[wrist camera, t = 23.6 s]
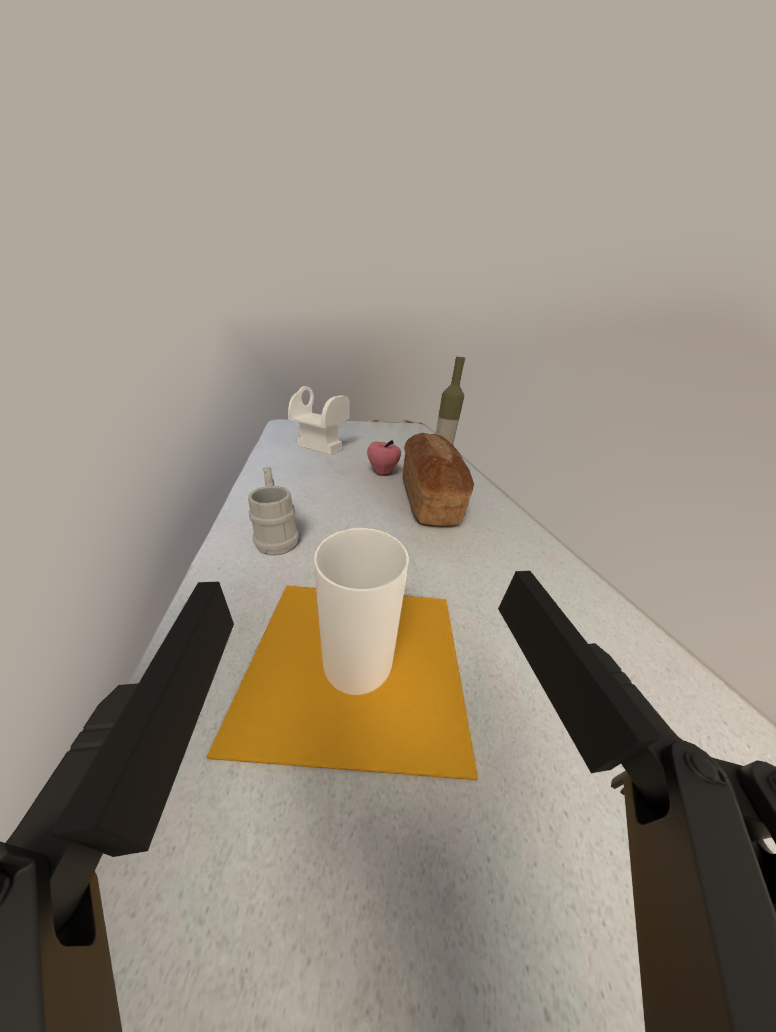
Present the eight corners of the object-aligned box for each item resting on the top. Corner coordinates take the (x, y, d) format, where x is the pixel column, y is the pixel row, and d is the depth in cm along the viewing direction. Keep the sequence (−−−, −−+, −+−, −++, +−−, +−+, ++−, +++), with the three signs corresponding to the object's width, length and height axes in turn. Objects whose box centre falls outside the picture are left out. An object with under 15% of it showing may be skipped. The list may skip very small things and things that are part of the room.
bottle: (428, 450, 100) (445, 355, 84) (446, 450, 101) (465, 357, 85) (436, 457, 94) (455, 357, 78) (454, 457, 96) (477, 359, 80)
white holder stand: (291, 447, 91) (285, 388, 81) (317, 438, 100) (314, 384, 91) (326, 457, 86) (323, 395, 76) (349, 446, 96) (349, 391, 86)
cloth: (207, 758, 24) (206, 757, 24) (286, 587, 41) (286, 585, 41) (476, 780, 24) (478, 778, 24) (445, 601, 41) (446, 599, 41)
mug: (254, 560, 45) (238, 496, 39) (255, 521, 54) (243, 464, 48) (302, 552, 48) (295, 491, 41) (295, 516, 57) (289, 462, 50)
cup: (324, 629, 35) (316, 528, 26) (387, 624, 36) (399, 526, 28) (321, 700, 28) (309, 594, 20) (398, 689, 30) (419, 587, 21)
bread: (438, 476, 80) (448, 426, 73) (468, 532, 57) (488, 468, 49) (398, 474, 79) (403, 423, 71) (412, 531, 56) (423, 465, 48)
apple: (390, 465, 84) (393, 433, 79) (404, 477, 78) (408, 442, 72) (361, 469, 80) (362, 435, 75) (374, 481, 74) (376, 445, 68)
